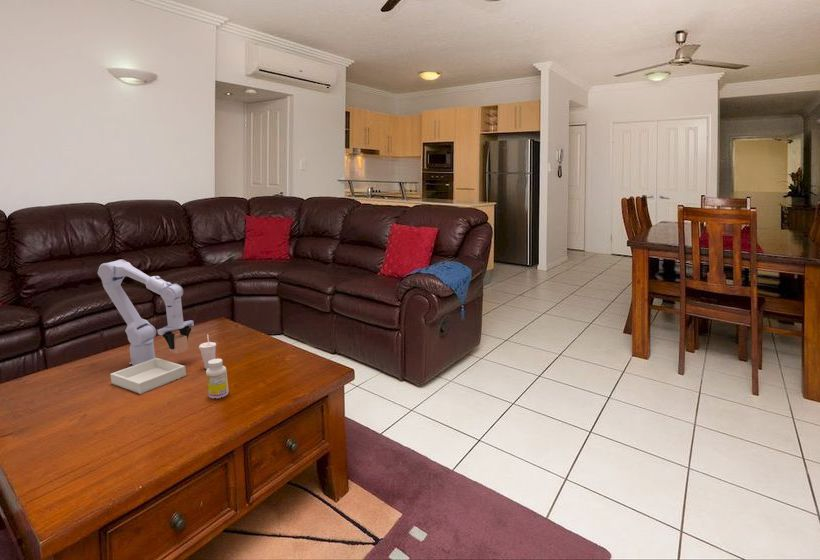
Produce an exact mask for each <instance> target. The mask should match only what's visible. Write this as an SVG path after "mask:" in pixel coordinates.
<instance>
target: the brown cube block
mask: <svg viewBox="0 0 820 560" xmlns="http://www.w3.org/2000/svg"><path fill="white" fill-rule="evenodd" d="M168 348H169V347H168ZM168 351H169V352H170V353H174V354H177V355H178V354H180V353H184V352H186V351H189V344H188V340H187V336H185V335H181V334H180V333H178V334H175V336H174V349H170V348H169V349H168Z"/></svg>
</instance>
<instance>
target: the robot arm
mask: <svg viewBox="0 0 820 560" xmlns="http://www.w3.org/2000/svg"><path fill="white" fill-rule="evenodd" d="M97 275H98V277H99V279H100V280H101V284H102V287H103V289H104V291H105V292H106V293H107V295H108V297H109V299H110V300H111V301H112V303H113V304H114V306H115V307H116V309H117V312H118V313H119V315H120V316H121V317H122V319H123V320H124V322H125V323H126V325H127V326H126V328H125V331H124V332H125V333H126V336H127V340H128V342H129V343H130V346H129V355H130V362H128V364H129V365H131V364H132V366H134V365H137V364H140V363H143V362H146V361H149V360H151V359H154V358H156V352H155V345H154V344H155V343H154V341H155V339H154V338H155V337H156V335H159V336H162V337H163V338H164V340H165V341H166V342H167V345H168V348H170V349H174V336H175V335H176V334H175V333H173V332H175V331H177V330H178V331H179V334H181V335H185V336H187V341H189V336H190V333H191V331H192V326H194V325H195V324H194V320H191V319H189V320H185V321H184V315H183V306H182V305H183V304H182V296H183V295H184V289H183V287H182V286H181V285H180V284H178V283H172V282H170V281H166V280H164V279H162V278H161V276H159V275H153V276H150V275H148V274H146V273H144V272H143V271H141V270H140V269H138V268H136V267H134V266H133V264H131V263H130V262H129V261H126V260H125V259H117V260H114V261H110V262H103V263H101V264H100V265H99V267H98V270H97ZM125 277H128V278H130V279H132V280H135V281H137V282H140V283H142V284H144V285H145V288H146V289H147V290H150V291H152V292H154V293H156V294H157V295H160V297H161V299H162V300H163V302H164V305H165V311H166V313H165V314H166V320H167V325H165V326H164V327H162V328H159V329H156V328H155V326H154V325H152V324H151V323H150V322H149V320H147V319H144V318H142V317H141V316H140V313H139V312H138V310H137V308H136V307H135V306H134V304H133V302H132V301H131V299H130V298H129V296H128V295H127V293H126V291H125V290H124V289H123V287H122V285H121V284H122V282H123V280H124V279H125Z"/></svg>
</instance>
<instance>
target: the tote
mask: <svg viewBox="0 0 820 560" xmlns="http://www.w3.org/2000/svg"><path fill="white" fill-rule="evenodd" d="M186 376H187V372H186V365H182V364H179V363H177V362H172V361H169V360H167V359H163V358H159V357H155V358H154V359H151V360H149V361H146V362H143V363H140V364H137V365H132V366H128V367H127V368H126V367H125V368H123V369H120V370H117V371H115V372H112V373H111V372H110V380H111V381H110V382H111V384H112V385H114V386H117V387H120V388H122V389H124V390H128V391H131V392H133V393H136V394H138V395H142V394H144V393H147V392H149V391H152V390H154V389H155V390H156V388H159V387H162V386H164V385H167V384H169V383H172V382H175V381H176V379H177V380H179V379H181V377H182V378H184V377H186ZM171 381H172V382H171Z"/></svg>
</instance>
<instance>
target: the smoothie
mask: <svg viewBox="0 0 820 560" xmlns="http://www.w3.org/2000/svg"><path fill="white" fill-rule="evenodd" d="M206 338H207V342H203V343H200V344H199V345H198V349H199V350H200V354H201V358H202V362H203V365H204V366H203V367H204V369H206V370H207V369H208V368H209V366H208V361H209V360H212V359H216V349H217V348H216V347H217V343H216V342H213V341H210V336H209V333H208V334H207V333H206Z"/></svg>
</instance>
